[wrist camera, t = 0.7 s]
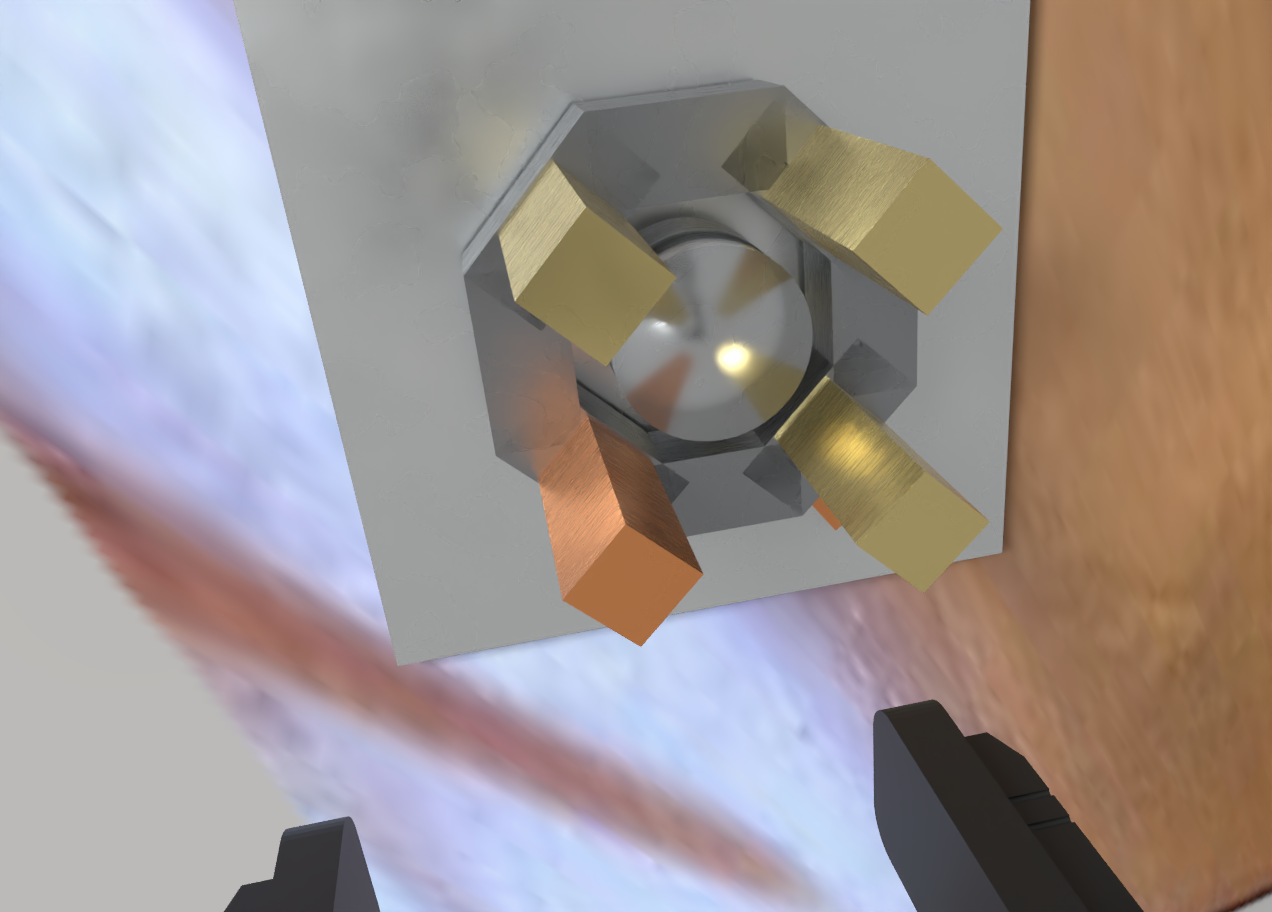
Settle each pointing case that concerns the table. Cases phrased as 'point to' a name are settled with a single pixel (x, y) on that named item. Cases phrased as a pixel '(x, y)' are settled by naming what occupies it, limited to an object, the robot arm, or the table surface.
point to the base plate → (677, 232)
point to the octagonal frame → (637, 278)
